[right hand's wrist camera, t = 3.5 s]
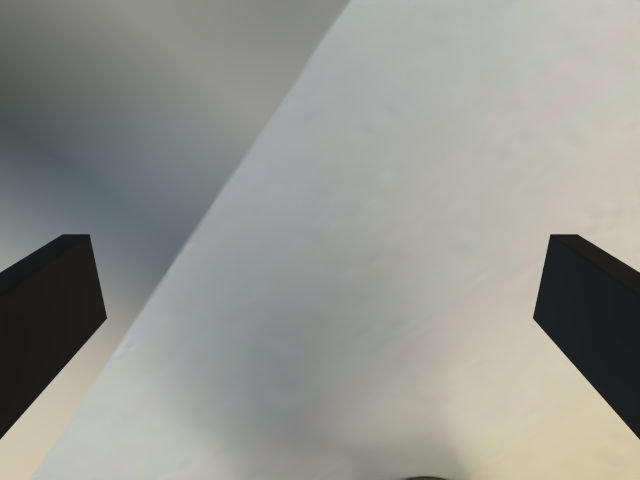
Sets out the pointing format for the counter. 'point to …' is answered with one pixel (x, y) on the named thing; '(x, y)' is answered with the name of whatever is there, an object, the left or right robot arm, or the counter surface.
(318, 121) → the counter surface
